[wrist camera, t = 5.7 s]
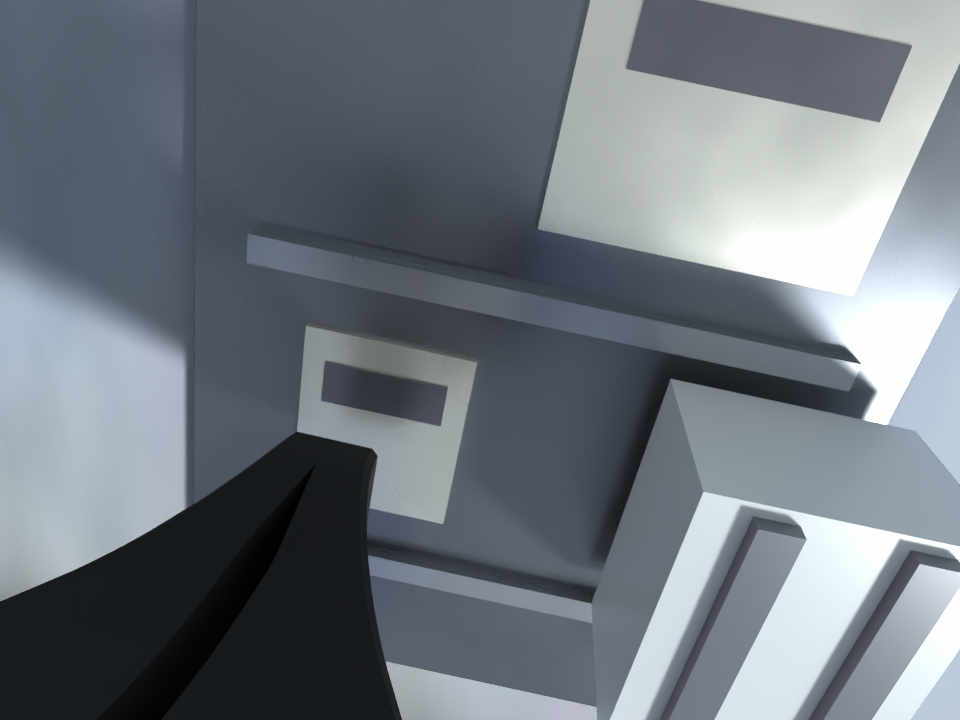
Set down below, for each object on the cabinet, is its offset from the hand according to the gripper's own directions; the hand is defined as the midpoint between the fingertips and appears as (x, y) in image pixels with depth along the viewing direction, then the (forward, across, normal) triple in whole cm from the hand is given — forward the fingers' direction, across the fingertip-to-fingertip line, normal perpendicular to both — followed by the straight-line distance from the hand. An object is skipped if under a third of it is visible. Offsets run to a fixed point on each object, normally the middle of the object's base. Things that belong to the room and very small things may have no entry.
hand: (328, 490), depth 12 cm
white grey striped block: (+2, -7, 0) cm, 7 cm away
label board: (+2, -3, -2) cm, 4 cm away
